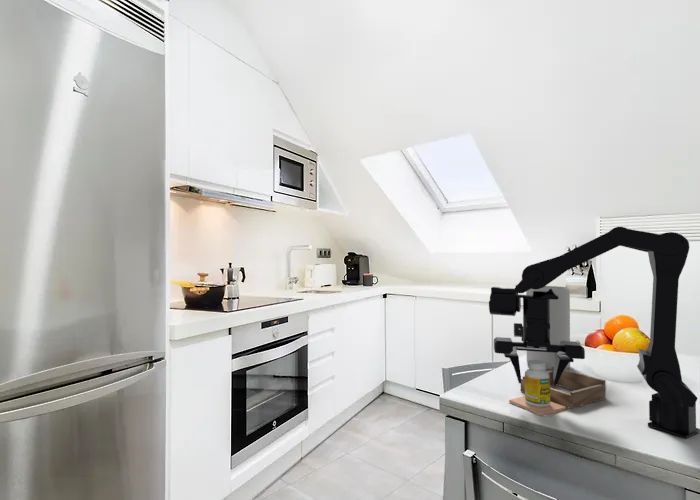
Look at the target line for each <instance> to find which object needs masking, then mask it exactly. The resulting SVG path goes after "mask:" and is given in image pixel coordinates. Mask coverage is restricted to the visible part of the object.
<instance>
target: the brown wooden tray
mask: <svg viewBox="0 0 700 500" xmlns="http://www.w3.org/2000/svg"><path fill="white" fill-rule="evenodd" d="M547 372H548V373H549V374H550V386H554V385H553V374H554V367H552V370H548V371H547ZM556 386H560V387H564V388H566V389H568V390H570V391H569V393H568V392H565V391H563V390H559V389H555V388H552V387H550V401H551V402H554V403H557V404H560V405H562V406H565V407H566V409H571V410H572V409H575V408H578V407H581V406H585V405H588V404H589V405H590V404H593V403H596V402H599V401H603V400H606V398H607V396H606V395H607V394H606V393H607V391H606V390H607V389H606V387H607V386H606V380H605V379H602V378H600V377H599V378H598V377H595V376H590V375H587V374H583V373H579V372H576V371H573V370H568V369H564V371H563V373H562V375H561V377H560V379H559V381H558V383H557V385H556ZM571 390H572V391H571ZM520 391H521V392H523V393H525V375H524V376H522V378H521V384H520Z"/></svg>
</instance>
